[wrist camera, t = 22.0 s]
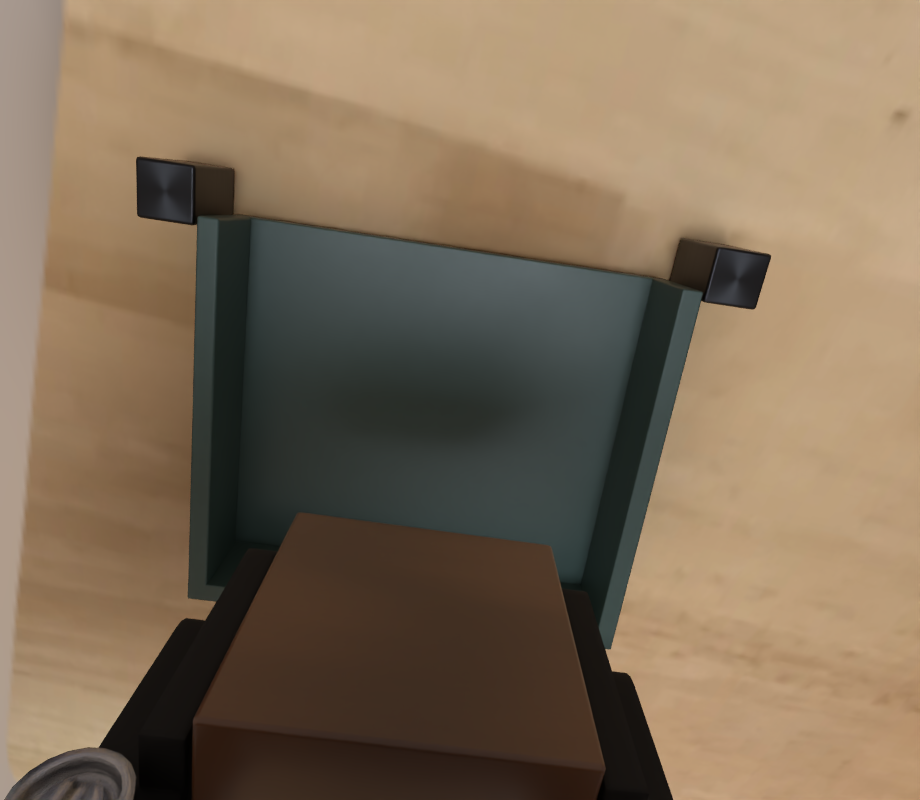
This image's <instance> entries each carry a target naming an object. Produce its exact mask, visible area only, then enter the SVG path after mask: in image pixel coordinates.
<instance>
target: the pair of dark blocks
mask: <svg viewBox="0 0 920 800" xmlns="http://www.w3.org/2000/svg"><path fill="white" fill-rule="evenodd" d="M136 171H137V215H138V216H139V217H141V218H147V219H154V220H161V221H167V222H174V223H181V224H187V225H197V219H198V216H204V215H233V186H234V170H233V169H232V168H228V167H221V166H215V165H209V164H202V163H196V162H189V161H181V160H170V159H160V158H150V157H137V159H136ZM770 259H771V255H769V254H766V253H761V252H756V251H752V250H747V249H743V248H738V247H733V246H729V245H724V244H717V243H711V242H704V241H698V240H691V239H685V238H682V239H681V240H680V243H679V247H678V251H677V255H676V259H675V263H674V267H673V271H672V275H671V279H670V281H672V282H675V283H678V284H681V285H684V286H687V287H690V288H693V289H696V290H699V291H702V292H703V295H702V299H701V301H703V302H706V303H712V304H719V305H726V306H732V307H739V308H746V309H755V308H756V305H757V302H758V298H759V295H760V292H761V289H762V285H763V282H764V279H765V275H766V272H767V269H768V265H769V262H770Z"/></svg>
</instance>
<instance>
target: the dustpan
mask: <svg viewBox="0 0 920 800" xmlns="http://www.w3.org/2000/svg"><path fill="white" fill-rule="evenodd" d="M702 295H703V292H702V291H699V290H696V289H693V288H690V287H687V286H684V285H681V284H678V283H675V282H672V281H668V280H665V279H661V278H654V277H648V276H641V275H635V274H628V273H622V272H615V271H608V270H602V269H595V268H589V267H582V266H575V265H569V264H562V263H556V262H549V261H542V260H536V259H529V258H523V257H516V256H510V255H503V254H496V253H490V252H483V251H477V250H470V249H463V248H457V247H450V246H444V245H437V244H431V243H424V242H417V241H411V240H404V239H398V238H391V237H384V236H378V235H371V234H365V233H358V232H351V231H345V230H338V229H332V228H325V227H319V226H312V225H305V224H299V223H292V222H286V221H279V220H272V219H266V218H259V217H253V216H246V215H204V216H198V219H197V259H196V299H195V339H194V379H193V419H192V459H191V499H190V539H189V579H188V598H191V599H199V600H207V601H216V602H217V600H218V599H219V597H220V595H221V593H222V592H223V590H224V588H225V587H226V585H227V583H228V582H229V580H230V578H231V577H232V575H233V573H234V571H235V570H236V568H237V566H238V565H239V563H240V561H241V560H242V558H243V556H244V555H245V553H246V551H247V550H248V549H249V548H255V549H262V550H270V551H278V550H279V548H280V546H281V544H282V542H283V540H284V538H285V536H286V534H287V532H288V530H289V528H290V526H291V524H292V522H293V520H294V518H295V516H296V514H297V513H299V512H303V513H311V514H318V515H326V516H333V517H341V518H348V519H356V520H363V521H371V522H378V523H386V524H393V525H401V526H408V527H416V528H423V529H431V530H438V531H446V532H453V533H461V534H468V535H476V536H484V537H491V538H499V539H506V540H514V541H521V542H529V543H536V544H544V545H549V546H551V548H552V552H553V556H554V560H555V564H556V568H557V572H558V576H559V580H560V584H561V588H562V589H569V590H577V591H585V592H587V593H588V595H589V598H590V601H591V605H592V608H593V611H594V615H595V618H596V621H597V624H598V628H599V631H600V634H601V637H602V641H603V644H604V647H605V649H611V646H612V642H613V638H614V634H615V630H616V626H617V623H618V619H619V615H620V611H621V607H622V603H623V600H624V596H625V592H626V588H627V584H628V580H629V576H630V573H631V569H632V565H633V561H634V557H635V553H636V549H637V546H638V542H639V538H640V534H641V530H642V526H643V522H644V519H645V515H646V511H647V507H648V503H649V499H650V495H651V492H652V488H653V484H654V480H655V476H656V472H657V469H658V465H659V461H660V457H661V453H662V449H663V445H664V442H665V438H666V434H667V430H668V426H669V422H670V418H671V415H672V411H673V407H674V403H675V399H676V395H677V391H678V388H679V384H680V380H681V376H682V372H683V368H684V364H685V361H686V357H687V353H688V349H689V345H690V341H691V338H692V334H693V330H694V326H695V322H696V318H697V314H698V311H699V307H700V303H701V299H702Z"/></svg>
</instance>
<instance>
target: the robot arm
mask: <svg viewBox="0 0 920 800" xmlns="http://www.w3.org/2000/svg"><path fill="white" fill-rule="evenodd" d="M277 552H278V551H270V550H262V549H255V548H249V549H248V550H247V551H246V553H245V555H244V556H243V558H242V560H241V561H240V563H239V565H238V566H237V568H236V570H235V571H234V573H233V575H232V577H231V578H230V580H229V582H228V583H227V585H226V587H225V588H224V590H223V592H222V593H221V595H220V597H219V599H218V600H217V602H216V604H215V605H214V607H213V609H212V610H211V612H210V614H209V615H208V617H207V619H206V621H204V620H196V619H188V618H186V619H184V620H182V621H181V622H180V623H179V625H178V626H177V627H176V629H175V630H174V632H173V633H172V635H171V636H170V638H169V640H168V641H167V643H166V644H165V646H164V647H163V649H162V650H161V652H160V653H159V655H158V657H157V658H156V660H155V661H154V663H153V664H152V666H151V667H150V669H149V670H148V672H147V674H146V675H145V677H144V678H143V680H142V681H141V683H140V684H139V686H138V687H137V689H136V691H135V692H134V694H133V695H132V697H131V698H130V700H129V701H128V703H127V704H126V706H125V708H124V709H123V711H122V712H121V714H120V715H119V717H118V718H117V720H116V721H115V723H114V725H113V726H112V728H111V729H110V731H109V732H108V734H107V735H106V737H105V738H104V740H103V742H102V743H101V745H100V746H99V748H90V747H88V748H83V749H77V750H72V751H68V752H65V753H63V754H60V755H58V756H55V757H53V758H50V759H48V760H46V761H45V762H43V763H41V764H40V765H38V766H37V767H35V768H34V769H32V770H30V771H29V772H28V773H27V774H26V775H25V776H24V777H23V778H21V779H20V780H19V781H18V782H17V783H16V784H15V785H14V786H13V787H12V789H11V790H10V792H9V793H8V795H7V796H6V798H5V799H4V800H192V732H193V718H194V716H195V714H196V712H197V710H198V708H199V706H200V704H201V702H202V701H203V699H204V697H205V695H206V693H207V691H208V689H209V687H210V685H211V683H212V681H213V679H214V677H215V675H216V673H217V671H218V669H219V667H220V665H221V663H222V661H223V659H224V657H225V655H226V653H227V651H228V649H229V647H230V645H231V643H232V641H233V639H234V637H235V635H236V633H237V631H238V629H239V627H240V625H241V623H242V621H243V619H244V617H245V615H246V613H247V611H248V609H249V607H250V605H251V603H252V601H253V599H254V597H255V596H256V594H257V592H258V590H259V588H260V586H261V584H262V582H263V580H264V578H265V576H266V574H267V572H268V570H269V568H270V566H271V564H272V562H273V560H274V558H275V556H276V554H277ZM562 592H563V596H564V601H565V605H566V609H567V613H568V617H569V621H570V625H571V629H572V633H573V637H574V641H575V645H576V649H577V653H578V658H579V662H580V666H581V670H582V674H583V678H584V682H585V686H586V690H587V694H588V698H589V702H590V706H591V710H592V715H593V719H594V723H595V727H596V731H597V735H598V739H599V743H600V747H601V751H602V755H603V759H604V763H605V768H606V769H605V773H604V777H603V780H602V783H601V787H600V790H599V793H598V797H597V800H673V798H672V795H671V792H670V789H669V786H668V783H667V780H666V777H665V774H664V771H663V768H662V765H661V762H660V759H659V757H658V754H657V751H656V748H655V745H654V742H653V739H652V736H651V733H650V730H649V727H648V724H647V721H646V719H645V716H644V713H643V710H642V707H641V704H640V701H639V698H638V695H637V692H636V689H635V686H634V684H633V681H632V679H631V677H630V676H629V675H628V674H627V673H620V672H612V670H611V667H610V664H609V660H608V657H607V654H606V651H605V647H604V644H603V641H602V637H601V634H600V631H599V628H598V624H597V621H596V618H595V615H594V611H593V608H592V605H591V601H590V598H589V595H588V593H587V592H585V591H577V590H569V589H562Z"/></svg>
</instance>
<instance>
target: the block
mask: <svg viewBox="0 0 920 800" xmlns="http://www.w3.org/2000/svg"><path fill="white" fill-rule="evenodd" d="M605 769H606V768H605V763H604V759H603V755H602V751H601V747H600V743H599V739H598V735H597V731H596V727H595V723H594V719H593V715H592V710H591V706H590V702H589V698H588V694H587V690H586V686H585V682H584V678H583V674H582V670H581V666H580V662H579V658H578V653H577V649H576V645H575V641H574V637H573V633H572V629H571V625H570V621H569V617H568V613H567V609H566V605H565V601H564V596H563V592H562V588H561V584H560V580H559V576H558V572H557V568H556V564H555V560H554V556H553V552H552V548H551V546H549V545H544V544H536V543H529V542H521V541H514V540H506V539H499V538H491V537H484V536H476V535H468V534H461V533H453V532H446V531H438V530H431V529H423V528H416V527H408V526H401V525H393V524H386V523H378V522H371V521H363V520H356V519H348V518H341V517H333V516H326V515H318V514H311V513H303V512H299V513H297V514H296V516H295V518H294V520H293V522H292V524H291V526H290V528H289V530H288V532H287V534H286V536H285V538H284V540H283V542H282V544H281V546H280V548H279V550H278V552H277V554H276V556H275V558H274V560H273V562H272V564H271V566H270V568H269V570H268V572H267V574H266V576H265V578H264V580H263V582H262V584H261V586H260V588H259V590H258V592H257V594H256V596H255V597H254V599H253V601H252V603H251V605H250V607H249V609H248V611H247V613H246V615H245V617H244V619H243V621H242V623H241V625H240V627H239V629H238V631H237V633H236V635H235V637H234V639H233V641H232V643H231V645H230V647H229V649H228V651H227V653H226V655H225V657H224V659H223V661H222V663H221V665H220V667H219V669H218V671H217V673H216V675H215V677H214V679H213V681H212V683H211V685H210V687H209V689H208V691H207V693H206V695H205V697H204V699H203V701H202V702H201V704H200V706H199V708H198V710H197V712H196V714H195V716H194V718H193V732H192V800H597V797H598V793H599V790H600V787H601V783H602V780H603V777H604V773H605Z"/></svg>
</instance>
